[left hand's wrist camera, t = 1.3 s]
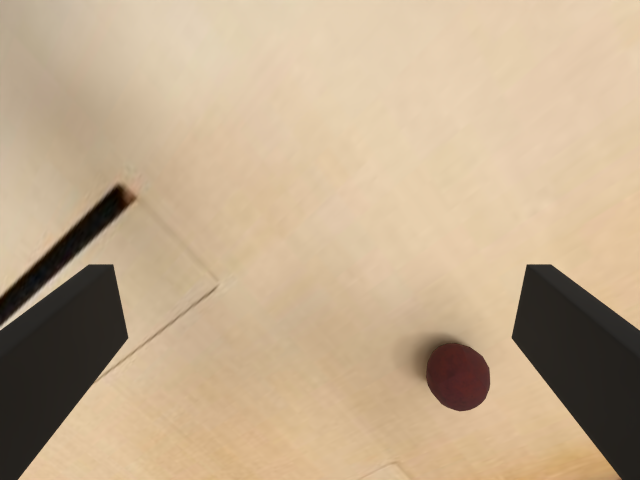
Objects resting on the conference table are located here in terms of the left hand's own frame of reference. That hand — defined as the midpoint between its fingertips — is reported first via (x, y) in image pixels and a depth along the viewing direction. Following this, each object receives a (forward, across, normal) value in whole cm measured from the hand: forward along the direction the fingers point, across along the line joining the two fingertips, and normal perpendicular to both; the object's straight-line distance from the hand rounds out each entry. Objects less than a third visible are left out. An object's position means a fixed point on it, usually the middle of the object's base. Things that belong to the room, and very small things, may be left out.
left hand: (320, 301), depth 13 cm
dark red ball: (+30, +16, -25) cm, 43 cm away
